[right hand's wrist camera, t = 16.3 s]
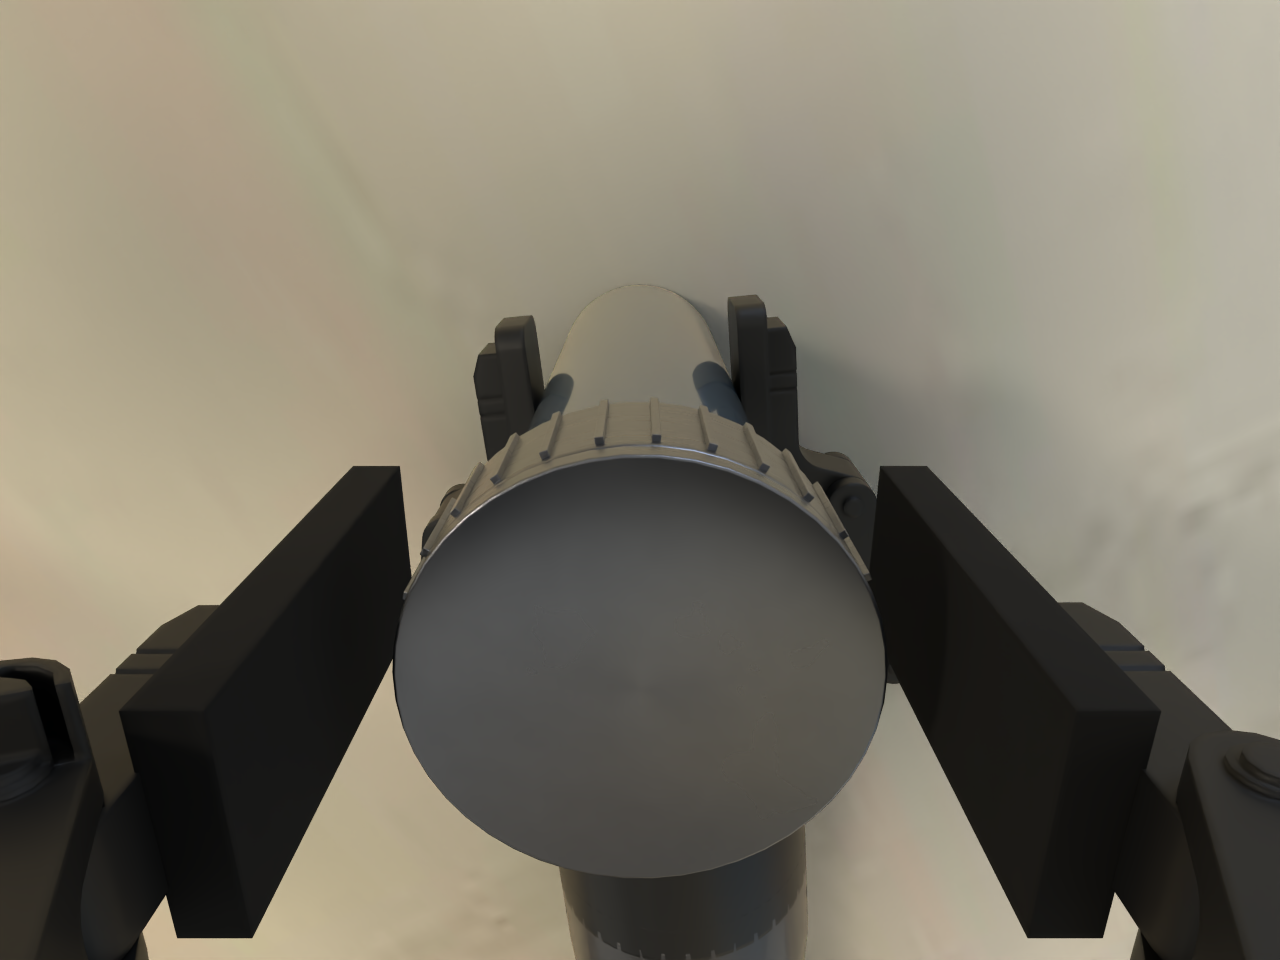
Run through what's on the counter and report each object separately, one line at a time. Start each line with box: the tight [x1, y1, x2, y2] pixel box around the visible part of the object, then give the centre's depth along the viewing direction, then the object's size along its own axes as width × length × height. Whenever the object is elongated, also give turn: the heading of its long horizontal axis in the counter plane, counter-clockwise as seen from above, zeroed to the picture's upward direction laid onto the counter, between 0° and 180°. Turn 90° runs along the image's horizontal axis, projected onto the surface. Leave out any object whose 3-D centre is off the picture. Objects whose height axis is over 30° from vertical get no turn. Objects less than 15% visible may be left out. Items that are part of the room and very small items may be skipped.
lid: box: [392, 397, 888, 878], centre depth 11 cm, size 6×6×2 cm
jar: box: [527, 285, 750, 432], centre depth 19 cm, size 5×5×18 cm
